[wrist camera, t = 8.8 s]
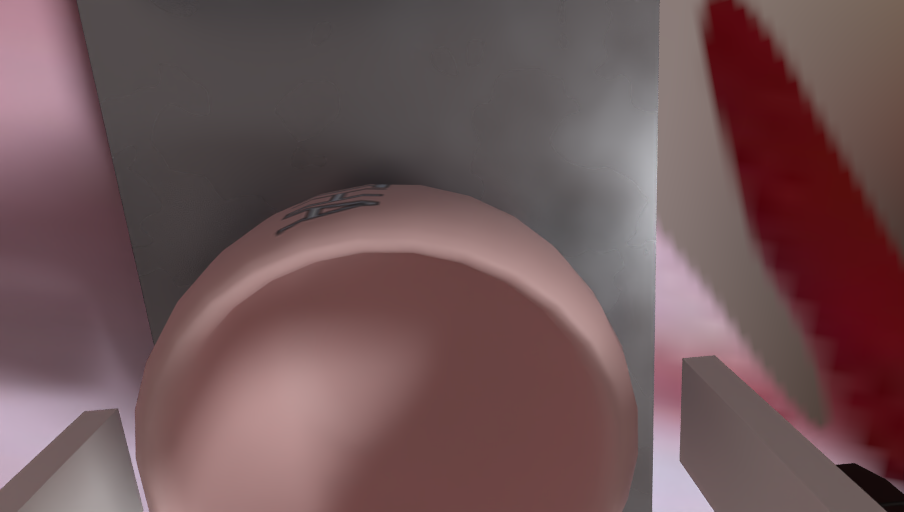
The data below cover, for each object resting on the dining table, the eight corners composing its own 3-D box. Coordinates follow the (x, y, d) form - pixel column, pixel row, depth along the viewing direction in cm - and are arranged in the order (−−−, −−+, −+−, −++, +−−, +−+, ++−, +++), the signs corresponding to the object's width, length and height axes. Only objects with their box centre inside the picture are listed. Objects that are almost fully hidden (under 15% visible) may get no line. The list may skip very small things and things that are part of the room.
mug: (163, 227, 16) (10, 306, 10) (527, 114, 15) (585, 127, 10) (322, 582, 19) (276, 795, 13) (628, 497, 18) (717, 680, 13)
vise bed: (265, 764, 22) (160, 1206, 13) (68, -154, 14) (-507, -549, 6) (636, 727, 23) (772, 1135, 14) (644, -194, 15) (976, -633, 6)
